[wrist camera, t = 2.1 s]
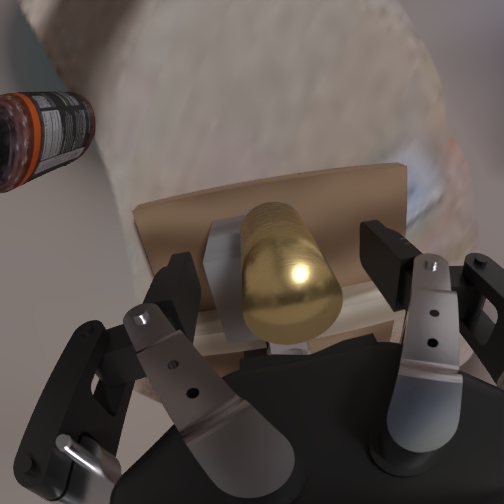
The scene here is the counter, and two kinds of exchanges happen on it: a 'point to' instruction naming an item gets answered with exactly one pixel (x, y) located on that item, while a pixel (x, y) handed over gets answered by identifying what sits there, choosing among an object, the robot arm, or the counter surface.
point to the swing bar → (285, 280)
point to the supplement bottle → (41, 134)
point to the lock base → (320, 226)
